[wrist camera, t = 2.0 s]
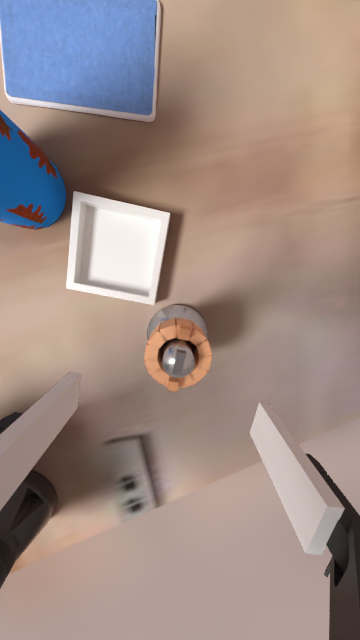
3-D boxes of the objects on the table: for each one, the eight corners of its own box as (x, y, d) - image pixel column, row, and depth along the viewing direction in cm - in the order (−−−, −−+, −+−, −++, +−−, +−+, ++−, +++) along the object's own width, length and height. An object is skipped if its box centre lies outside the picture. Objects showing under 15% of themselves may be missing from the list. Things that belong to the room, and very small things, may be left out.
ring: (199, 376, 28) (204, 397, 23) (144, 367, 28) (138, 386, 23) (212, 324, 26) (220, 334, 22) (154, 313, 26) (149, 321, 21)
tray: (155, 302, 32) (154, 305, 29) (74, 287, 31) (66, 288, 28) (170, 218, 29) (170, 212, 26) (82, 198, 28) (73, 190, 26)
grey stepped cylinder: (199, 365, 34) (212, 413, 22) (143, 355, 34) (126, 399, 22) (212, 311, 32) (234, 331, 20) (153, 299, 31) (139, 313, 19)
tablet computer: (162, 7, 24) (161, -8, 23) (155, 126, 27) (154, 119, 26) (1, -18, 23) (-9, -35, 22) (11, 108, 26) (3, 99, 25)
